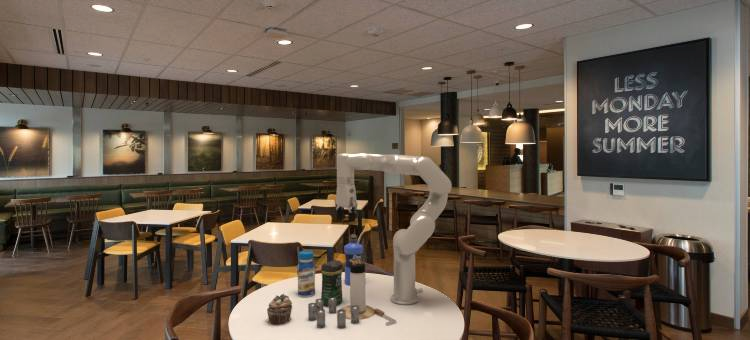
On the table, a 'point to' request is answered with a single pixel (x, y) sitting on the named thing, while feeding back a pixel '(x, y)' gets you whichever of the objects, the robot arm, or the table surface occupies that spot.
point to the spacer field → (319, 313)
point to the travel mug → (358, 287)
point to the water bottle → (352, 256)
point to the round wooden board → (367, 314)
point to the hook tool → (385, 316)
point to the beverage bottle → (306, 274)
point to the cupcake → (279, 310)
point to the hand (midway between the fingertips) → (345, 220)
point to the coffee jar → (331, 281)
